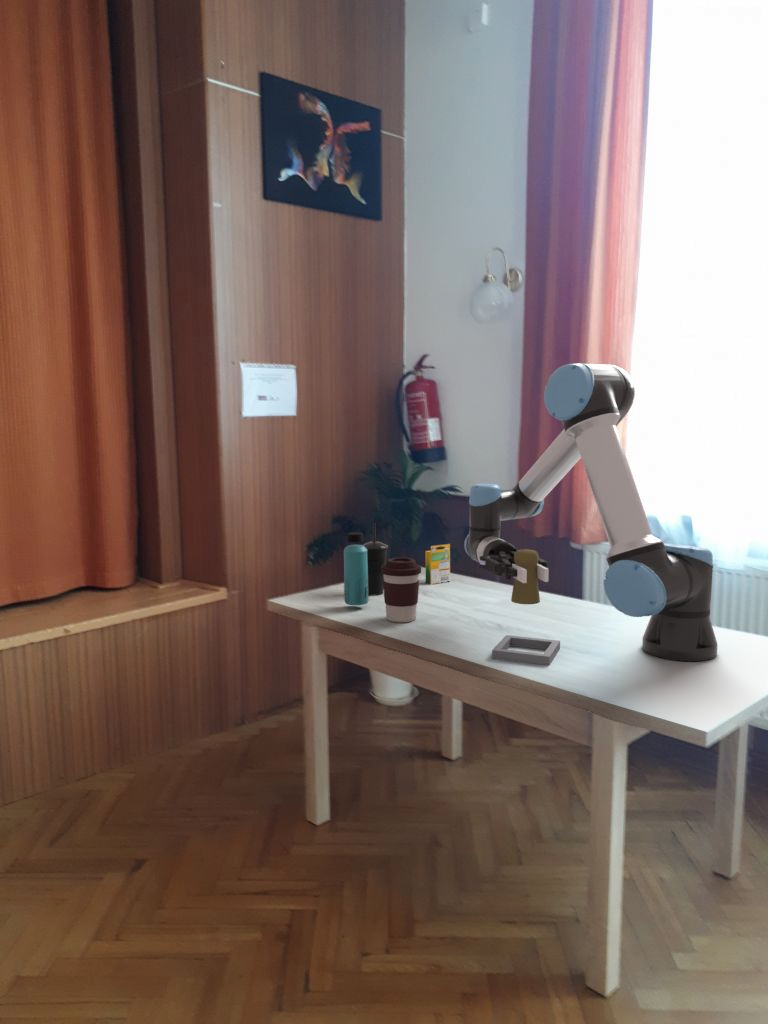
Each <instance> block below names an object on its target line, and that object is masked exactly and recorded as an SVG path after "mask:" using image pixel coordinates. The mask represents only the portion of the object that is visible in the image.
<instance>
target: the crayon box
mask: <svg viewBox="0 0 768 1024" xmlns="http://www.w3.org/2000/svg"><path fill="white" fill-rule="evenodd" d="M439 548H440V549H439ZM441 548H442V549H441ZM424 554H425V556H424V558H425V583H426V584H427V583H428V585H430V584H432V585H436V583H437V584H442V583H441V582H443V583H448V582H447V581H450V582H451V543H446V544H437V545H431V546H430V550H425V553H424Z"/></svg>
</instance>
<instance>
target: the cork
mask: <svg viewBox="0 0 768 1024" xmlns="http://www.w3.org/2000/svg"><path fill="white" fill-rule="evenodd" d="M539 558H540V556H539V553H538V551H536V550H533V549H529V548H528V549H527V548H525V549H518V550H517V551H516V552H515V554H514V562H515V563H516V565H518V566H520V567H522V568H524V569H526V570H527V583H522V582H520V581H519V580H517V579H515V578H514V577H513V586H512V592H511V599H510V600H511V602H512V603H514V604H519V605H536V604H539V603H540V602H541V598H540V597H541V596H540V589H539V579H538V578H537V570H536V565H537V564H538V561H539Z"/></svg>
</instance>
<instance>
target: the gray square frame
mask: <svg viewBox="0 0 768 1024" xmlns="http://www.w3.org/2000/svg"><path fill="white" fill-rule="evenodd" d="M511 646H513V647H523V648H532V649H539V650H545V651H544V653H540V652H531V651H523V650H513V649H509V648H510V647H511ZM560 649H561V640H555V639H547V638H540V637H539V638H538V637H537V638H536V637H529V636H519V635H518V636H517V635H509V634H506V635H505V636H504V637H503V638H502V639H501V640H500V641H499V642H498V643H497V644H496V645H495V646H494V647H493V648H492V650H491V659H494V660H501V661H510V662H517V661H520V662H519V663H526V662H527V664H534V663H535V665H544V666H550V665H551V663H552V662H553V660H554V659H555V657H556V656H557V654H558V653H559V652H560Z"/></svg>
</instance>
